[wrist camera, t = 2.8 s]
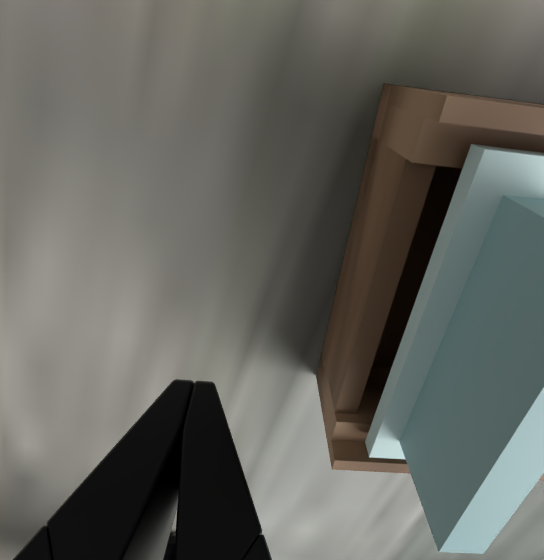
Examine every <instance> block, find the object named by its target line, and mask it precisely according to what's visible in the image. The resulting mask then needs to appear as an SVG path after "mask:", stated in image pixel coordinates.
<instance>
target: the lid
mask: <svg viewBox="0 0 544 560" xmlns="http://www.w3.org/2000/svg"><path fill="white" fill-rule="evenodd" d="M365 444H366V447H367V451H368V455H369V457H373V458H391V459H406V462H407V465H408V467H409V470H410V473H411V476H412V479H413V481H414V484H415V487H416V490H417V493H418V495H419V498H420V501H421V504H422V506H423V509H424V512H425V515H426V518H427V520H428V523H429V526H430V529H431V532H432V534H433V537H434V540H435V543H436V545H437V548H438V551H439V552H453V553H479V554H483V553H484V552H485V551H486V549H487V548H488V547H489V545H490V544H491V543H492V541H493V540H494V539H495V537H496V536H497V535H498V533H499V532H500V531H501V529H502V528H503V527H504V525H505V524H506V523H507V521H508V520H509V519H510V517H511V516H512V515H513V513H514V512H515V511H516V509H517V508H518V507H519V505H520V504H521V503H522V501H523V500H524V499H525V497H526V496H527V495H528V493H529V492H530V491H531V489H532V488H533V487H534V485H535V484H536V483H537V481H538V480H539V479H540V477H541V476H542V475H543V473H544V153H541V152H533V151H525V150H517V149H508V148H500V147H492V146H484V145H476V144H471V146H470V149H469V152H468V155H467V157H466V160H465V163H464V166H463V169H462V171H461V174H460V177H459V180H458V183H457V185H456V188H455V191H454V194H453V197H452V200H451V202H450V205H449V208H448V211H447V214H446V216H445V219H444V222H443V225H442V228H441V230H440V233H439V236H438V239H437V242H436V244H435V247H434V250H433V253H432V256H431V258H430V261H429V264H428V267H427V270H426V272H425V275H424V278H423V281H422V284H421V287H420V289H419V292H418V295H417V298H416V301H415V303H414V306H413V309H412V312H411V315H410V317H409V320H408V323H407V326H406V329H405V331H404V334H403V337H402V340H401V343H400V345H399V348H398V351H397V354H396V357H395V360H394V362H393V365H392V368H391V371H390V374H389V376H388V379H387V382H386V385H385V388H384V390H383V393H382V396H381V399H380V402H379V404H378V407H377V410H376V413H375V416H374V418H373V421H372V424H371V427H370V430H369V432H368V435H367V438H366V441H365Z"/></svg>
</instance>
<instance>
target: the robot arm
mask: <svg viewBox="0 0 544 560" xmlns="http://www.w3.org/2000/svg"><path fill="white" fill-rule="evenodd" d="M177 506H178V507H177ZM176 510H177V524H176V537H175V536H170V532H171V528H172V525H173V521H174V517H175V514H176ZM13 560H272V558H271V555H270V552H269V549H268V546H267V543H266V540H265V537H264V535H262V528H261V525H260V522H259V519H258V516H257V513H256V510H255V507H254V504H253V500H252V497H251V494H250V491H249V488H248V485H247V482H246V479H245V476H244V473H243V469H242V466H241V463H240V460H239V457H238V454H237V451H236V448H235V445H234V442H233V439H232V435H231V432H230V429H229V426H228V423H227V420H226V417H225V414H224V411H223V408H222V404H221V401H220V398H219V395H218V392H217V389H216V386H215V384H214V383H213V382H208V381H196V382H195V383H194V382H193V381H191V380H179V379H176V380H174V381H173V382H172V383H171V384H170V385H169V386H168V387H167V388H166V389H165V390H164V391H163V393H162V394H161V395H160V396H159V397H158V398H157V399H156V400H155V402H154V403H153V404H152V405H151V406H150V407H149V408H148V409H147V411H146V412H145V413H144V414H143V415H142V416H141V417H140V418H139V419H138V421H137V422H136V423H135V424H134V425H133V426H132V427H131V428H130V430H129V431H128V432H127V433H126V434H125V435H124V436H123V437H122V439H121V440H120V441H119V442H118V443H117V444H116V445H115V446H114V447H113V449H112V450H111V451H110V452H109V453H108V454H107V455H106V456H105V458H104V459H103V460H102V461H101V462H100V463H99V464H98V465H97V467H96V468H95V469H94V470H93V471H92V472H91V473H90V474H89V475H88V477H87V478H86V479H85V480H84V481H83V482H82V483H81V484H80V486H79V487H78V488H77V489H76V490H75V491H74V492H73V493H72V495H71V496H70V497H69V498H68V499H67V500H66V501H65V502H64V503H63V505H62V506H61V507H60V508H59V509H58V510H57V511H56V512H55V514H54V515H53V516H52V517H51V518H50V519H49V520H48V522H47V526H43V527H42V528H41V529H40V530H39V531H38V532H37V533H36V535H35V536H34V537H33V538H32V539H31V540H30V541H29V542H28V544H27V545H26V546H25V547H24V548H23V549H22V550H21V551H20V552H19V553H18V555H17V556H16V557H15V558H14V559H13Z"/></svg>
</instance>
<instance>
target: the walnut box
mask: <svg viewBox="0 0 544 560" xmlns="http://www.w3.org/2000/svg"><path fill="white" fill-rule="evenodd" d="M471 144H476V145H484V146H492V147H500V148H508V149H517V150H525V151H533V152H541V153H544V105H543V104H535V103H528V102H520V101H512V100H505V99H497V98H489V97H482V96H474V95H467V94H459V93H451V92H444V91H436V90H429V89H421V88H413V87H406V86H398V85H391V84H384V85H383V90H382V94H381V98H380V103H379V107H378V111H377V116H376V120H375V124H374V129H373V133H372V137H371V142H370V146H369V150H368V155H367V159H366V163H365V168H364V172H363V176H362V181H361V185H360V189H359V193H358V198H357V202H356V206H355V211H354V215H353V219H352V224H351V228H350V232H349V237H348V241H347V245H346V250H345V254H344V258H343V263H342V267H341V271H340V276H339V280H338V284H337V289H336V293H335V297H334V302H333V306H332V310H331V315H330V319H329V323H328V328H327V332H326V336H325V340H324V345H323V349H322V353H321V358H320V362H319V366H318V371H317V375H316V378H317V384H318V390H319V396H320V401H321V407H322V413H323V419H324V425H325V431H326V437H327V443H328V449H329V454H330V460H331V466H332V469H336V470H355V471H374V472H393V473H410V470H409V467H408V465H407V462H406V459H391V458H373V457H369V455H368V451H367V447H366V444H365V441H366V438H367V435H368V432H369V430H370V427H371V424H372V421H373V418H374V416H375V413H376V410H377V407H378V404H379V402H380V399H381V396H382V393H383V390H384V388H385V385H386V382H387V379H388V376H389V374H390V371H391V368H392V365H393V362H394V360H395V357H396V354H397V351H398V348H399V345H400V343H401V340H402V337H403V334H404V331H405V329H406V326H407V323H408V320H409V317H410V315H411V312H412V309H413V306H414V303H415V301H416V298H417V295H418V292H419V289H420V287H421V284H422V281H423V278H424V275H425V272H426V270H427V267H428V264H429V261H430V258H431V256H432V253H433V250H434V247H435V244H436V242H437V239H438V236H439V233H440V230H441V228H442V225H443V222H444V219H445V216H446V214H447V211H448V208H449V205H450V202H451V200H452V197H453V194H454V191H455V188H456V185H457V183H458V180H459V177H460V174H461V171H462V169H463V166H464V163H465V160H466V157H467V155H468V152H469V149H470V146H471ZM539 480H543V481H544V473H543V475H542V476H541V477H540V479H539Z"/></svg>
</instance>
